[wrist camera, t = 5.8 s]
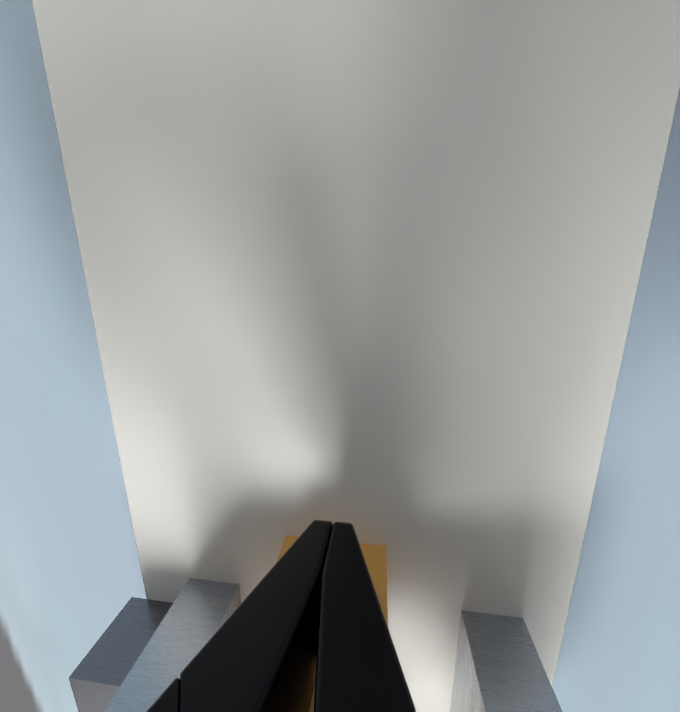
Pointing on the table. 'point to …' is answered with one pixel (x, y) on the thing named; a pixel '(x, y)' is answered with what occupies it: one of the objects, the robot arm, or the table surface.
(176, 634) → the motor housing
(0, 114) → the table surface
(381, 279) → the mount plate
